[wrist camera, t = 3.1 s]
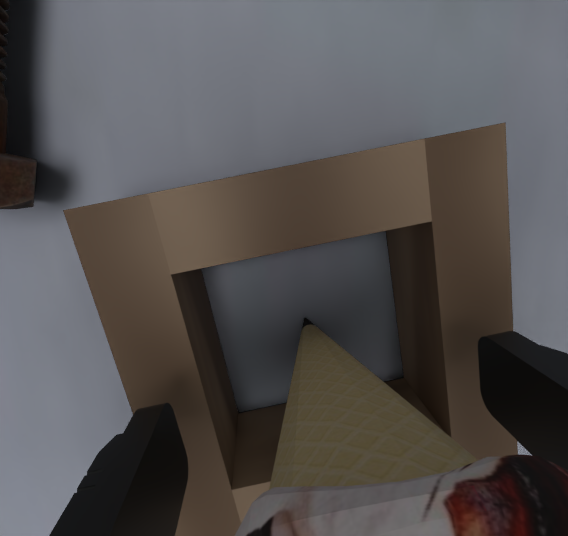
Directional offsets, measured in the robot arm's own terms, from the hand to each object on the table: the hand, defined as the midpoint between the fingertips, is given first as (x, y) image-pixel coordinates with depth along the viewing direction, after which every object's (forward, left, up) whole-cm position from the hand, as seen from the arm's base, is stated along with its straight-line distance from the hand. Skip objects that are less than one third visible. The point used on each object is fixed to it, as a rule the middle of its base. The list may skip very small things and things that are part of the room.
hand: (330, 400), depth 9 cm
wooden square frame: (0, 0, -6) cm, 6 cm away
